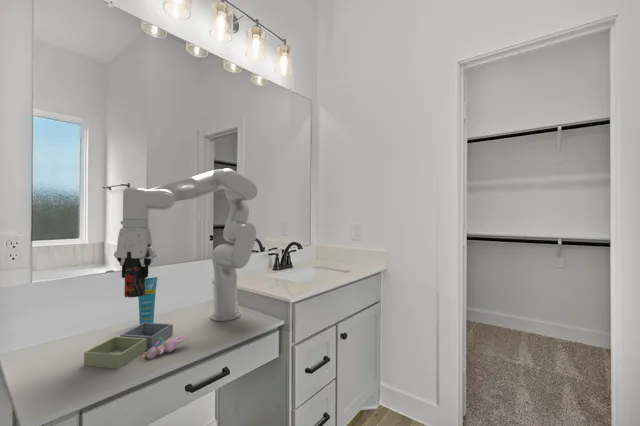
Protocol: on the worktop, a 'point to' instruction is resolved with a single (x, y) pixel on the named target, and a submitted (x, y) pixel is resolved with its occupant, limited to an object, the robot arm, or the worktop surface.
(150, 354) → the pink toy figurine
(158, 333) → the bin
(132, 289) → the deodorant
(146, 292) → the tube
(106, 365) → the bin
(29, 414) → the worktop surface
